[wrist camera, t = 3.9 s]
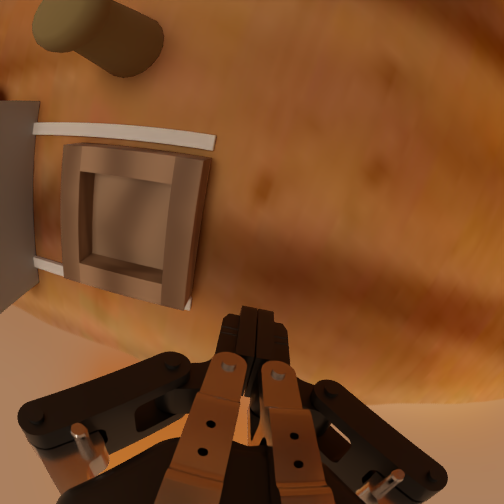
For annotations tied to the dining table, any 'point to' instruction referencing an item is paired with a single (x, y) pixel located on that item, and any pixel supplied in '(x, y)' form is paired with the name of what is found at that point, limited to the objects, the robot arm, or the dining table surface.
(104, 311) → the dining table surface
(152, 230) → the socket block
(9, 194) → the backstop
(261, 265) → the dining table surface
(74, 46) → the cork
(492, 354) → the dining table surface
